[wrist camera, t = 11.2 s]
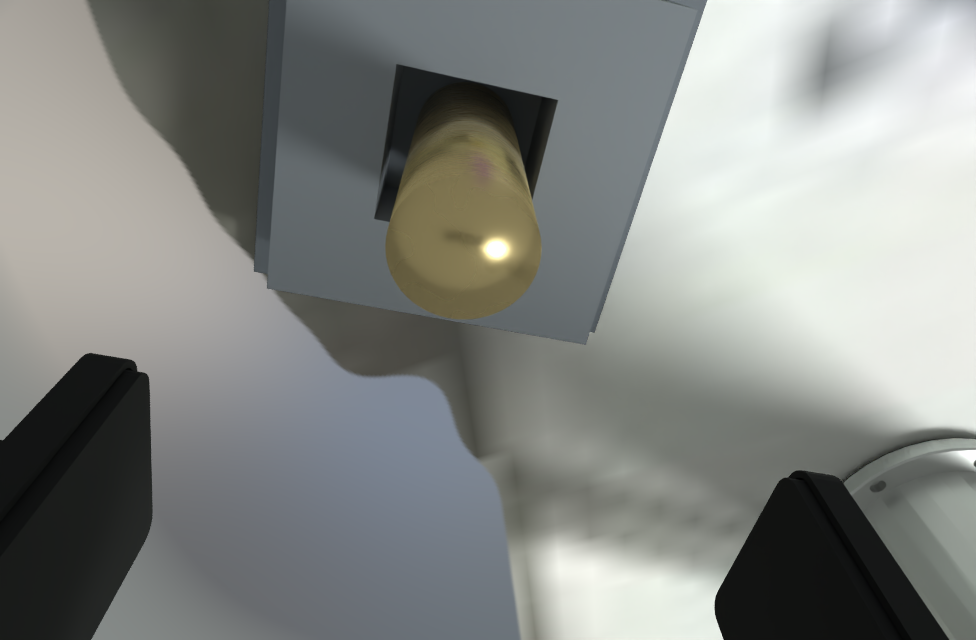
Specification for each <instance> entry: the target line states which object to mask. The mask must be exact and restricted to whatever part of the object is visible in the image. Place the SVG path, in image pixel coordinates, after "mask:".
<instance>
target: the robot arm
mask: <svg viewBox="0 0 976 640" xmlns="http://www.w3.org/2000/svg"><path fill="white" fill-rule="evenodd" d="M151 522H152V472H151V430H150V390H149V377H148V375H147V374H146V373H142V372H137V366H136V364H135V362H134V361H132V360H129V359H123V358H117V357H111V356H105V355H98V354H93V353H89V354H85V355H84V356H83V357H81V358H80V359H79V361H78V362H77V363H76V364H75V365H74V366H73V367H72V368H71V369H70V370H69V371H68V372H67V373H66V374H65V375H64V376H63V378H62V379H61V380H60V381H59V382H58V383H57V384H56V385H55V386H54V387H53V388H52V389H51V390H50V391H49V392H48V393H47V394H46V396H45V397H44V398H43V399H42V400H41V401H40V402H39V403H38V404H37V405H36V406H35V407H34V408H33V409H32V410H31V411H30V412H29V414H28V415H27V416H26V417H25V418H24V419H23V420H22V421H21V422H20V423H19V424H18V425H17V426H16V427H15V428H14V430H13V431H12V432H11V433H10V434H9V435H8V436H7V437H6V438H5V439H4V440H0V640H91V639H92V637H93V635H94V633H95V632H96V629H97V628H98V626H99V624H100V622H101V621H102V619H103V617H104V615H105V613H106V611H107V610H108V608H109V606H110V604H111V602H112V601H113V599H114V597H115V595H116V593H117V591H118V589H119V588H120V586H121V584H122V582H123V580H124V579H125V577H126V575H127V573H128V571H129V570H130V568H131V566H132V564H133V562H134V560H135V559H136V557H137V555H138V553H139V551H140V549H141V548H142V546H143V544H144V542H145V540H146V538H147V535H148V533H149V530H150V526H151ZM715 615H716V619H717V622H718V625H719V628H720V631H721V633H722V636H723V639H724V640H976V439H963V438H950V439H940V440H931V441H927V442H923V443H919V444H914V445H910V446H907V447H904V448H902V449H899V450H896V451H894V452H891V453H889V454H886V455H884V456H882V457H881V458H879V459H877V460H875V461H873V462H871V463H869V464H868V465H866V466H865V467H863V468H862V469H860V470H859V471H858V472H856V473H855V474H853V475H852V476H851V477H849V478H848V479H847V480H846V481H845V482H844V483H843V482H842V481H841V480H840V479H839V478H837V477H835V476H832V475H826V474H820V473H814V472H808V471H802V470H800V471H795V472H793V473H792V474H791V475H790V476H789V477H788V478H783V479H781V480H780V481H779V483H778V484H777V486H776V487H775V489H774V491H773V493H772V495H771V496H770V498H769V500H768V502H767V504H766V505H765V507H764V509H763V511H762V513H761V514H760V516H759V518H758V520H757V522H756V524H755V525H754V527H753V529H752V531H751V533H750V534H749V536H748V538H747V540H746V542H745V543H744V545H743V547H742V549H741V551H740V552H739V554H738V556H737V558H736V560H735V561H734V563H733V565H732V567H731V569H730V570H729V572H728V574H727V576H726V578H725V579H724V581H723V583H722V585H721V587H720V588H719V590H718V592H717V595H716V598H715Z"/></svg>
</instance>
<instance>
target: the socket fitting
mask: <svg viewBox="0 0 976 640" xmlns="http://www.w3.org/2000/svg"><path fill="white" fill-rule="evenodd" d="M706 2H707V0H269V15H268V33H267V50H266V68H265V85H264V103H263V120H262V137H261V155H260V172H259V190H258V207H257V225H256V242H255V260H254V272H259V273H265V274H268V280H267V288H268V289H274V290H279V291H285V292H291V293H296V294H302V295H308V296H313V297H319V298H325V299H330V300H336V301H342V302H347V303H353V304H358V305H364V306H370V307H375V308H381V309H387V310H392V311H398V312H404V313H409V314H415V315H421V316H426V317H432V318H438V319H443V320H449V321H455V322H460V323H466V324H472V325H477V326H483V327H489V328H494V329H500V330H506V331H511V332H517V333H523V334H528V335H534V336H539V337H545V338H551V339H556V340H562V341H568V342H573V343H579V344H585V345H586V342H587V339H588V336H589V333H590V332H595V329H596V326H597V323H598V321H599V318H600V315H601V312H602V309H603V306H604V303H605V300H606V297H607V294H608V291H609V288H610V285H611V282H612V279H613V276H614V273H615V270H616V268H617V265H618V262H619V259H620V256H621V253H622V250H623V247H624V244H625V241H626V238H627V235H628V232H629V229H630V226H631V223H632V220H633V217H634V214H635V212H636V209H637V206H638V203H639V200H640V197H641V194H642V191H643V188H644V185H645V182H646V179H647V176H648V173H649V170H650V167H651V164H652V161H653V158H654V156H655V153H656V150H657V147H658V144H659V141H660V138H661V135H662V132H663V129H664V126H665V123H666V120H667V117H668V114H669V111H670V108H671V105H672V103H673V100H674V97H675V94H676V91H677V88H678V85H679V82H680V79H681V76H682V73H683V70H684V67H685V64H686V61H687V58H688V55H689V52H690V49H691V47H692V44H693V41H694V38H695V35H696V32H697V29H698V26H699V23H700V20H701V17H702V14H703V11H704V8H705V5H706ZM459 82H471V83H476V84H480V85H483V86H485V87H487V88H489V89H490V90H492V91H494V92H495V93H496V94H497V95H498V96H499V97H500V98H501V99H502V100H503V101H504V102H505V104H506V105H507V107H508V109H509V111H510V113H511V116H512V119H513V123H514V128H515V132H516V136H517V140H518V144H519V148H520V152H521V157H522V161H523V165H524V169H525V173H526V177H527V182H528V186H529V190H530V194H531V198H532V202H533V206H534V211H535V215H536V219H537V223H538V227H539V232H540V236H541V245H542V250H541V260H540V265H539V268H538V271H537V274H536V276H535V278H534V280H533V282H532V283H531V285H530V286H529V288H528V289H527V291H526V292H525V293H524V294H523V295H522V296H521V297H520V298H519V299H518V300H517V301H515V302H514V303H513V304H512V305H510V306H509V307H507V308H505V309H504V310H502V311H500V312H498V313H495V314H492V315H490V316H486V317H482V318H477V319H451V318H446V317H442V316H438V315H435V314H433V313H430V312H428V311H426V310H424V309H422V308H421V307H419V306H418V305H416V304H415V303H413V302H412V301H411V300H410V299H409V298H407V297H406V295H405V294H404V293H403V292H402V291H401V290H400V289H399V287H398V286H397V284H396V283H395V281H394V279H393V277H392V275H391V273H390V270H389V267H388V264H387V259H386V252H385V242H386V234H387V230H388V226H389V222H390V219H391V215H392V211H393V208H394V204H395V200H396V197H397V193H398V189H399V186H400V182H401V178H402V175H403V171H404V167H405V164H406V160H407V156H408V153H409V149H410V145H411V142H412V138H413V134H414V131H415V127H416V123H417V120H418V116H419V113H420V111H421V109H422V107H423V105H424V104H425V102H426V101H427V100H428V98H429V97H430V96H431V95H432V94H434V93H435V92H436V91H437V90H439V89H441V88H442V87H445V86H447V85H450V84H453V83H459Z"/></svg>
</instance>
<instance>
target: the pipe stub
mask: <svg viewBox="0 0 976 640" xmlns="http://www.w3.org/2000/svg"><path fill="white" fill-rule="evenodd" d="M541 250H542V245H541V236H540V232H539V227H538V223H537V219H536V215H535V211H534V206H533V202H532V198H531V194H530V190H529V186H528V182H527V177H526V173H525V169H524V165H523V161H522V157H521V152H520V148H519V144H518V140H517V136H516V132H515V128H514V123H513V119H512V116H511V113H510V111H509V109H508V107H507V105H506V104H505V102H504V101H503V100H502V99H501V98H500V97H499V96H498V95H497V94H496V93H495V92H494V91H492V90H490V89H489V88H487V87H485V86H483V85H480V84H476V83H471V82H459V83H453V84H450V85H447V86H445V87H442V88H441V89H439V90H437V91H436V92H435V93H434V94H432V95H431V96H430V97H429V98H428V100H427V101H426V102H425V104H424V105H423V107H422V109H421V111H420V113H419V116H418V120H417V123H416V127H415V131H414V134H413V138H412V142H411V145H410V149H409V153H408V156H407V160H406V164H405V167H404V171H403V175H402V178H401V182H400V186H399V189H398V193H397V197H396V200H395V204H394V208H393V211H392V215H391V219H390V222H389V226H388V230H387V234H386V242H385V252H386V259H387V264H388V267H389V270H390V273H391V275H392V277H393V279H394V281H395V283H396V284H397V286H398V287H399V289H400V290H401V291H402V292H403V293H404V294H405V295H406V297H407V298H409V299H410V300H411V301H412V302H413V303H415V304H416V305H418V306H419V307H421V308H422V309H424V310H426V311H428V312H430V313H433V314H435V315H438V316H442V317H446V318H451V319H477V318H482V317H486V316H490V315H492V314H495V313H498V312H500V311H502V310H504V309H505V308H507V307H509V306H510V305H512V304H513V303H514V302H515V301H517V300H518V299H519V298H520V297H521V296H522V295H523V294H524V293H525V292H526V291H527V289H528V288H529V286H530V285H531V283H532V282H533V280H534V278H535V276H536V274H537V271H538V268H539V265H540V260H541Z"/></svg>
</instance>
